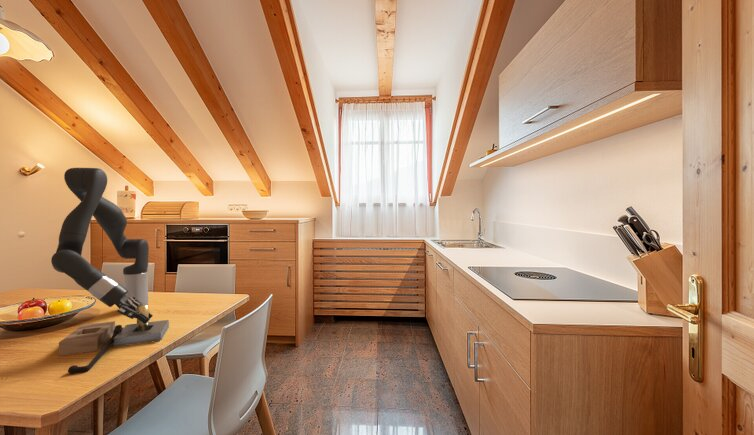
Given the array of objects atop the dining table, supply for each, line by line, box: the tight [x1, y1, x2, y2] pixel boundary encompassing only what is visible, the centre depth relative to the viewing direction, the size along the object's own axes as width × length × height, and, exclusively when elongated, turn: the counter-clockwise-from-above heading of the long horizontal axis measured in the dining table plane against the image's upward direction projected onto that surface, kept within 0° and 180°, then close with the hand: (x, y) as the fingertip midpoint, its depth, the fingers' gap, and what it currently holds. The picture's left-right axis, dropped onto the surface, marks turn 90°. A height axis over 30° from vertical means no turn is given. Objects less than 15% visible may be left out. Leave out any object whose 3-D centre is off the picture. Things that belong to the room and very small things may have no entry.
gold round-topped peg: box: [136, 304, 150, 332], centre depth 121 cm, size 4×4×10 cm
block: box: [113, 319, 170, 348], centre depth 122 cm, size 14×14×3 cm
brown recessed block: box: [58, 320, 116, 357], centre depth 115 cm, size 17×10×4 cm, turn 23°
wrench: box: [67, 324, 124, 375], centre depth 109 cm, size 5×5×30 cm
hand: (148, 319), depth 122 cm, fingers closed on gold round-topped peg, 3 cm apart
